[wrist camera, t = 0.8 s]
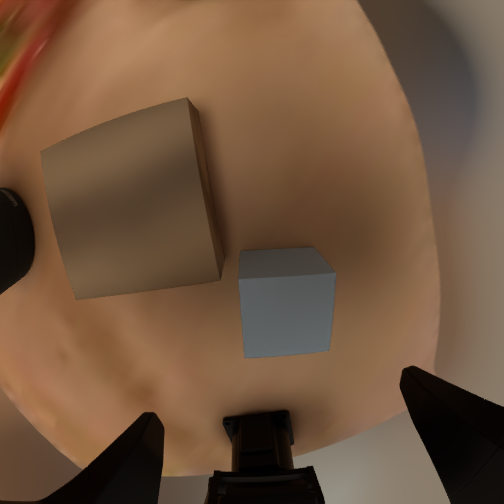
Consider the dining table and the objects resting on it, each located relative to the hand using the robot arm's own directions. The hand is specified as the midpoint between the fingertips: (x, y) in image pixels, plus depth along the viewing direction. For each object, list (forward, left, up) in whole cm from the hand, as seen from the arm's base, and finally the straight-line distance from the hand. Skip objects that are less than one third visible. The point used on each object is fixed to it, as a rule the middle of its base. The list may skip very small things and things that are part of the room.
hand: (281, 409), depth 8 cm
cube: (0, -1, -12) cm, 12 cm away
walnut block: (+7, +7, -12) cm, 15 cm away
